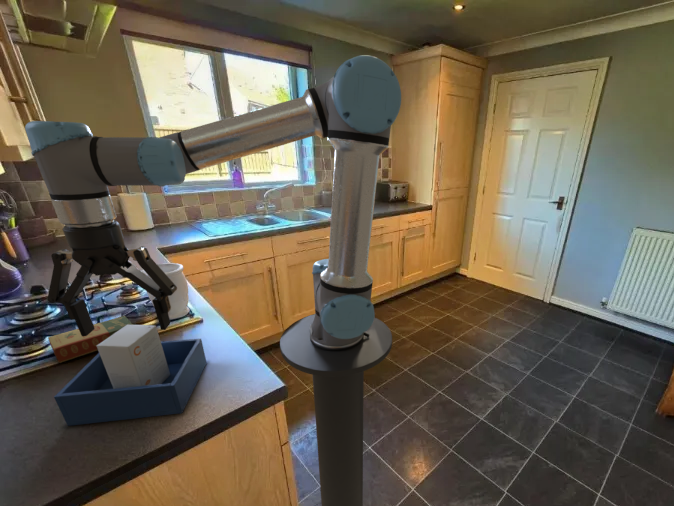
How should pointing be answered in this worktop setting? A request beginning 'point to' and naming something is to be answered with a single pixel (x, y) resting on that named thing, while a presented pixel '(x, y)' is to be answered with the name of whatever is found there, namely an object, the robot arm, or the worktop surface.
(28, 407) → the worktop surface
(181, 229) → the worktop surface
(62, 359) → the carton
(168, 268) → the jar
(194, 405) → the worktop surface
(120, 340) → the small box
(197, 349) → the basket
